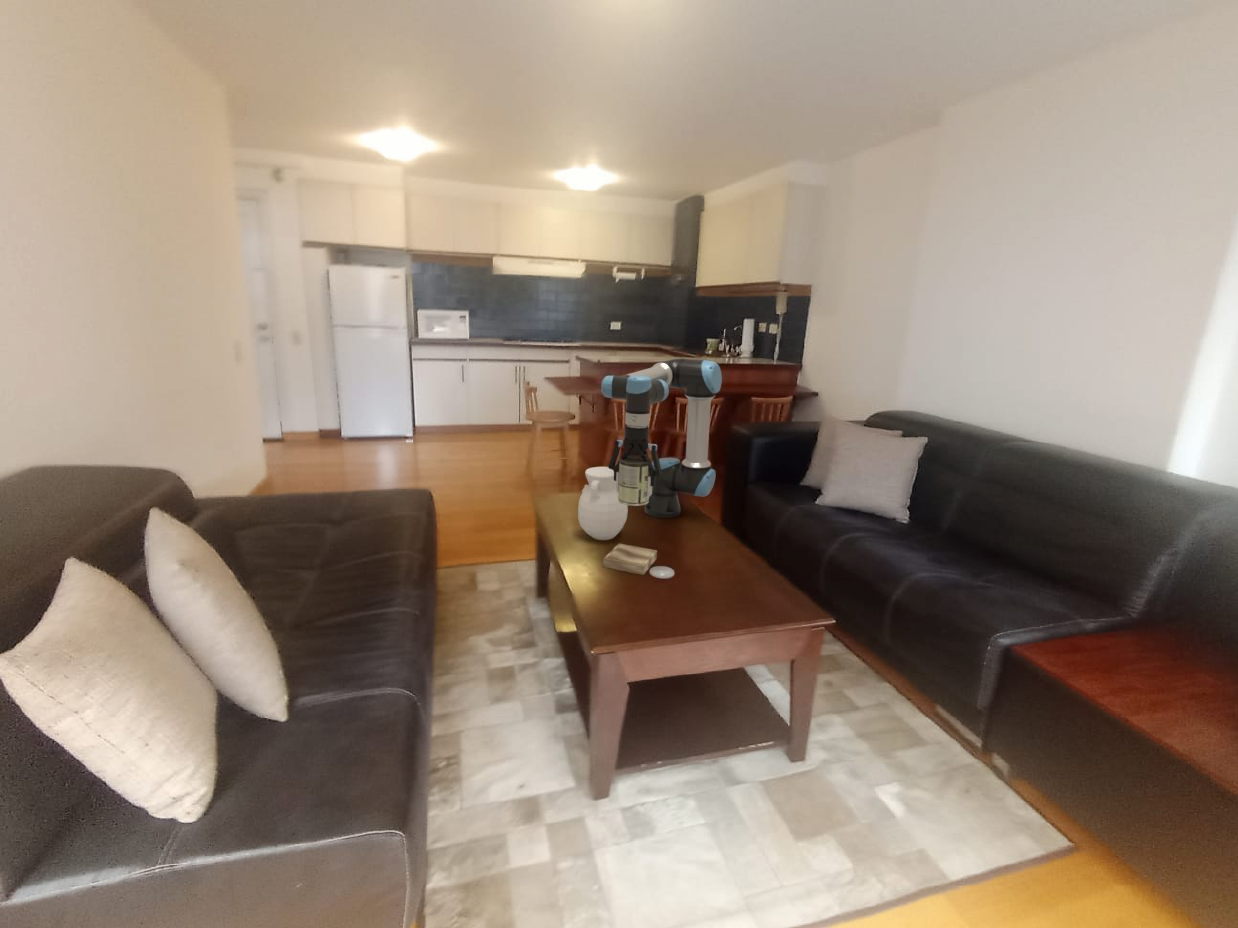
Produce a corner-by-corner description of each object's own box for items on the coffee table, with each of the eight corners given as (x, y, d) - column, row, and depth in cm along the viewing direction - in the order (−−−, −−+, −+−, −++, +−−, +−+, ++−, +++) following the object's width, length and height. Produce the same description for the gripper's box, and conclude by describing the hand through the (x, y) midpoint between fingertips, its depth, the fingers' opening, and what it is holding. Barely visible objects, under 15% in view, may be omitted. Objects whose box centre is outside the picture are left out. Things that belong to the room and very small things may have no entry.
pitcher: (592, 523, 228) (593, 462, 222) (634, 532, 221) (637, 469, 214) (567, 538, 212) (568, 473, 206) (612, 549, 204) (615, 481, 198)
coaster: (653, 565, 192) (654, 564, 192) (677, 570, 190) (677, 568, 189) (646, 575, 185) (646, 573, 185) (670, 580, 182) (670, 578, 182)
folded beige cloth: (618, 551, 203) (618, 542, 202) (656, 558, 198) (657, 549, 197) (603, 566, 190) (603, 557, 189) (643, 575, 185) (643, 565, 185)
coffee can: (620, 494, 194) (622, 454, 191) (651, 497, 192) (653, 456, 189) (614, 504, 184) (616, 461, 181) (646, 507, 183) (648, 464, 179)
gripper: (599, 423, 182) (597, 490, 188) (668, 431, 175) (663, 501, 180) (608, 420, 189) (605, 484, 195) (674, 427, 181) (670, 494, 187)
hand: (633, 492), depth 188 cm, fingers closed on coffee can, 10 cm apart
